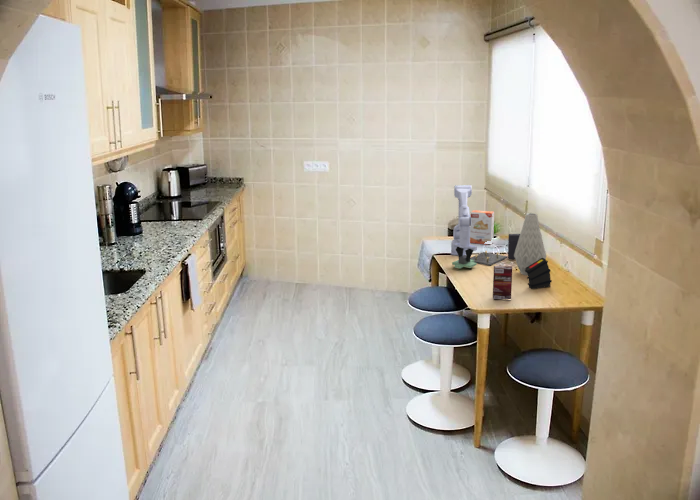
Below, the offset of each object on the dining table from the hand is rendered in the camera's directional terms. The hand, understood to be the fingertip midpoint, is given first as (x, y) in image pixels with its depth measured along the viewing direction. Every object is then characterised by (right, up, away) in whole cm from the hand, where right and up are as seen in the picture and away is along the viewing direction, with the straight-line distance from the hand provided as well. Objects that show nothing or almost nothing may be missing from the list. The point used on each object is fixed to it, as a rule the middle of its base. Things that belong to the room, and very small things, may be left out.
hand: (464, 260), depth 348 cm
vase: (+33, -7, -14) cm, 36 cm away
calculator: (+34, +1, +13) cm, 36 cm away
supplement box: (+9, -18, -50) cm, 54 cm away
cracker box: (+21, +10, +51) cm, 56 cm away
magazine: (+30, -13, -36) cm, 49 cm away
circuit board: (0, -2, +1) cm, 2 cm away
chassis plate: (+16, 0, +14) cm, 21 cm away
